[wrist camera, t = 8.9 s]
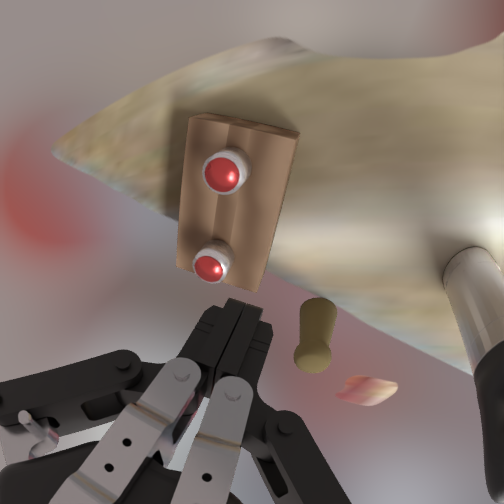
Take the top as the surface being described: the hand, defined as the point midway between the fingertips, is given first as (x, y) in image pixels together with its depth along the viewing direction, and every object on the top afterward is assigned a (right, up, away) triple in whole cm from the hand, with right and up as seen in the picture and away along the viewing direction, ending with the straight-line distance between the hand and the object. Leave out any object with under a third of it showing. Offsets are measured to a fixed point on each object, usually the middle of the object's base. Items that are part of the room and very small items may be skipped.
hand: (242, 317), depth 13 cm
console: (-2, +10, +27) cm, 29 cm away
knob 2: (-3, +4, +29) cm, 29 cm away
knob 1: (-1, +14, +22) cm, 26 cm away
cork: (+11, -7, +34) cm, 36 cm away
